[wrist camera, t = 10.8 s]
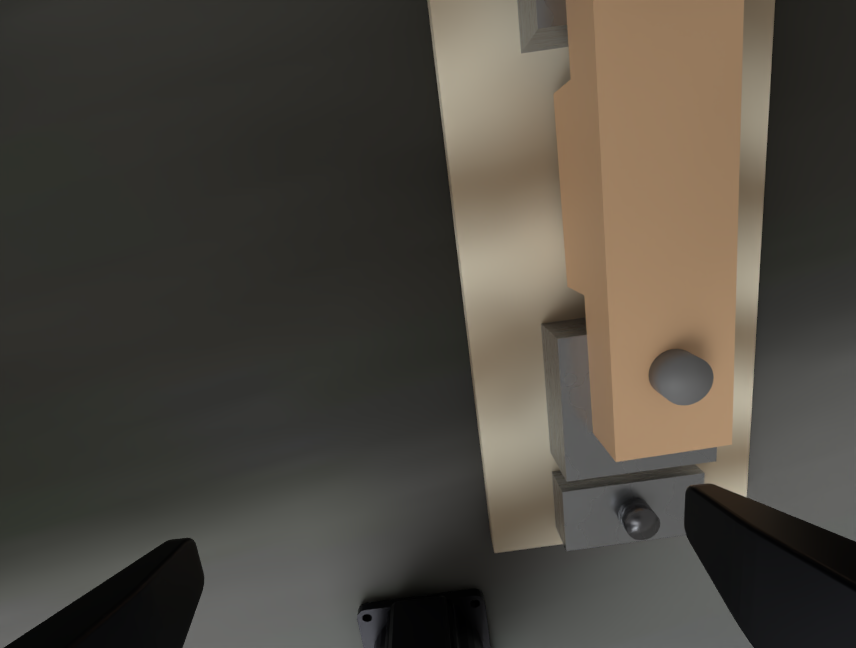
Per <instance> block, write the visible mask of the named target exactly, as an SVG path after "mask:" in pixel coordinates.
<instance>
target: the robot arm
mask: <svg viewBox="0 0 856 648" xmlns="http://www.w3.org/2000/svg"><path fill="white" fill-rule="evenodd" d="M684 529H685V533H686V535H687V538H688V540H689V542H690V543H691V545H692V547H693V549H694V550H695V552H696V554H697V555H698V557H699V559H700V561H701V562H702V564H703V566H704V568H705V569H706V571H707V573H708V574H709V576H710V578H711V580H712V581H713V583H714V585H715V587H716V588H717V590H718V592H719V593H720V595H721V597H722V599H723V600H724V602H725V604H726V606H727V607H728V609H729V611H730V612H731V614H732V616H733V617H734V619H735V620H736V622H737V624H738V625H739V627H740V628H741V630H742V631H743V633H744V634H745V636H746V637H747V639H748V640H749V642H750V643H751V644H752V646H753V647H754V648H856V542H855V541H853V540H850V539H848V538H845V537H843V536H840V535H838V534H835V533H833V532H830V531H828V530H825V529H823V528H821V527H818V526H816V525H813V524H811V523H808V522H806V521H803V520H801V519H798V518H796V517H793V516H791V515H789V514H786V513H784V512H781V511H779V510H776V509H774V508H771V507H769V506H766V505H764V504H761V503H759V502H757V501H754V500H752V499H749V498H747V497H744V496H742V495H739V494H737V493H734V492H732V491H729V490H727V489H724V488H722V487H720V486H717V485H715V484H711V483H706V484H697V485H690V486H689V487H687V489H686V491H685V508H684ZM203 586H204V573H203V569H202V565H201V561H200V558H199V554H198V550H197V546H196V543H195V542H194V540H193V539H191V538H182V539H172V540H168V541H166V542H164V543H163V544H161V545H160V546H158V547H157V548H155V549H154V550H152V551H151V552H149V553H147V554H146V555H144V556H143V557H141V558H140V559H138V560H137V561H135V562H134V563H132V564H131V565H129V566H128V567H126V568H125V569H123V570H122V571H120V572H118V573H117V574H115V575H114V576H112V577H111V578H109V579H108V580H106V581H105V582H103V583H102V584H100V585H99V586H97V587H96V588H94V589H93V590H91V591H89V592H88V593H86V594H85V595H83V596H82V597H80V598H79V599H77V600H76V601H74V602H73V603H71V604H70V605H68V606H67V607H65V608H64V609H62V610H60V611H59V612H57V613H56V614H54V615H53V616H51V617H50V618H48V619H47V620H45V621H44V622H42V623H41V624H39V625H38V626H36V627H35V628H33V629H31V630H30V631H28V632H27V633H25V634H24V635H22V636H21V637H19V638H18V639H16V640H15V641H13V642H12V643H10V644H9V645H7V646H6V647H4V648H183V645H184V642H185V639H186V636H187V634H188V631H189V628H190V625H191V622H192V619H193V616H194V614H195V611H196V608H197V605H198V602H199V599H200V597H201V594H202V591H203ZM472 600H475V601H472ZM366 614H370V615H366ZM357 620H358V625H359V629H360V633H361V638H362V642H363V647H364V648H491V647H490V640H489V632H488V624H487V616H486V608H485V601H484V595H483V593H482V592H481V591H480V590H478V589H469V590H462V591H454V592H447V593H439V594H432V595H424V596H417V597H409V598H402V599H394V600H387V601H379V602H372V603H366V604H363V605H361V606H360V607H359V609H358V616H357Z"/></svg>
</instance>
